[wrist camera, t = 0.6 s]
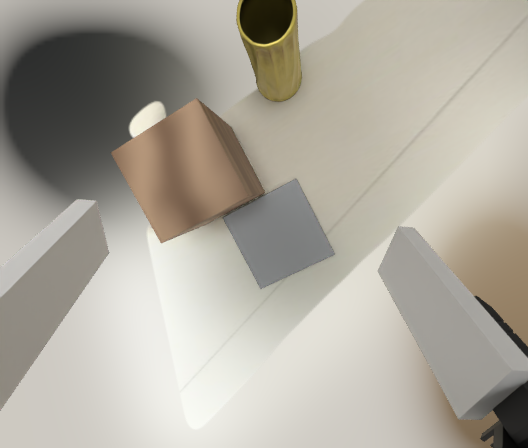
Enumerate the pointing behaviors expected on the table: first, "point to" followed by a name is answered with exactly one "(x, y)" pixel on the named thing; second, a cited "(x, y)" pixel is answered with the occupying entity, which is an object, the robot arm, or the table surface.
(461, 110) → the table surface
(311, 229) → the mat
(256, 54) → the vase
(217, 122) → the brown wooden block
